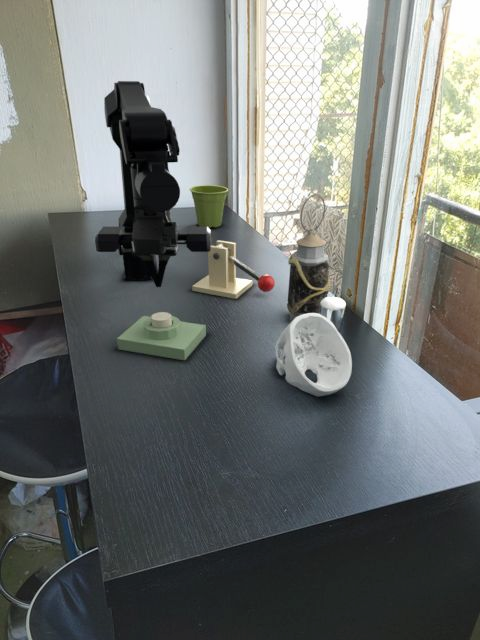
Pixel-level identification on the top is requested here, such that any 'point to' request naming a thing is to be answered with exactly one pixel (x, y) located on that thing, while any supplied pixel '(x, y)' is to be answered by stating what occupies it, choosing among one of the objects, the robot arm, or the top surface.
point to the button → (161, 320)
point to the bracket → (222, 274)
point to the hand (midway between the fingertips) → (158, 286)
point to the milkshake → (333, 309)
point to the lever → (252, 273)
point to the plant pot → (209, 204)
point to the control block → (162, 338)
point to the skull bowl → (314, 355)
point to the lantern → (308, 273)
